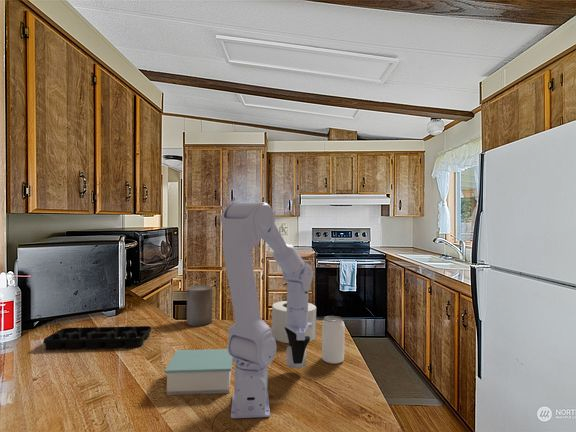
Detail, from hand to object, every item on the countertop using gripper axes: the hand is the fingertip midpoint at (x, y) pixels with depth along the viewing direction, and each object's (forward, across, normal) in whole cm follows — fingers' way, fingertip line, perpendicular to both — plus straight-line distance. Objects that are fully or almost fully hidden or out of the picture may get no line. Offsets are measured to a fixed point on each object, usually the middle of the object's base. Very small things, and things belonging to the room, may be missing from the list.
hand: (296, 358), depth 88 cm
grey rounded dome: (+2, 0, 0) cm, 2 cm away
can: (+4, +8, -12) cm, 15 cm away
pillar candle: (+4, +46, +32) cm, 56 cm away
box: (+4, -3, +24) cm, 24 cm away
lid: (-1, -3, +24) cm, 24 cm away
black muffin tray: (+5, +26, +60) cm, 65 cm away
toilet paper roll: (+4, +29, -3) cm, 30 cm away
